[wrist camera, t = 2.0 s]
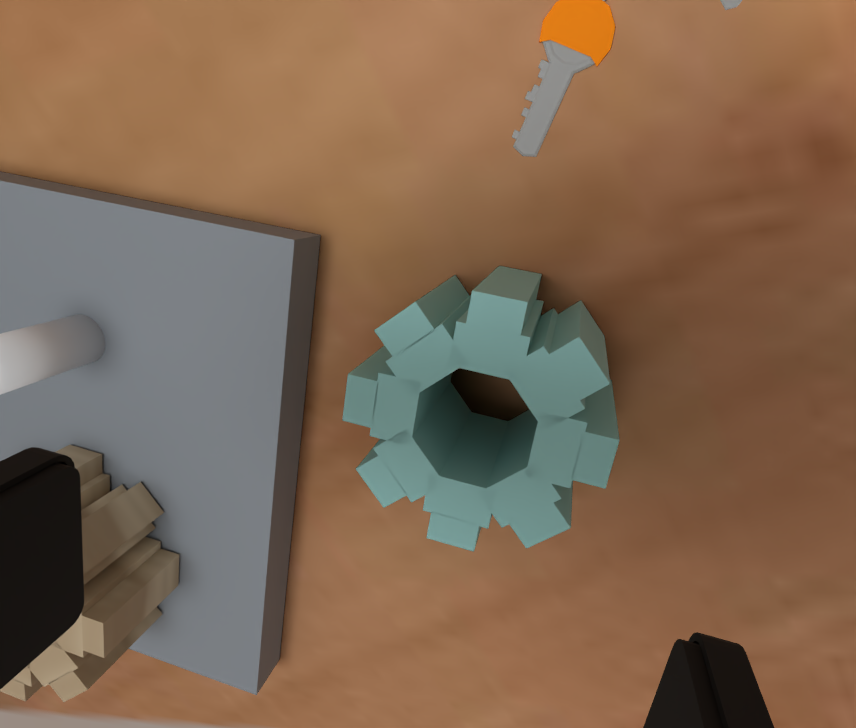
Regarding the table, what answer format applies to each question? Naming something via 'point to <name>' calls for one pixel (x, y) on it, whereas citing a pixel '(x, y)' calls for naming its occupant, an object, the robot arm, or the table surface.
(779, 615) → the table surface
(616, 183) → the table surface
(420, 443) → the teal gear
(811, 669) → the table surface
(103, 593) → the beech gear
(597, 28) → the key chain
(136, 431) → the gear board
